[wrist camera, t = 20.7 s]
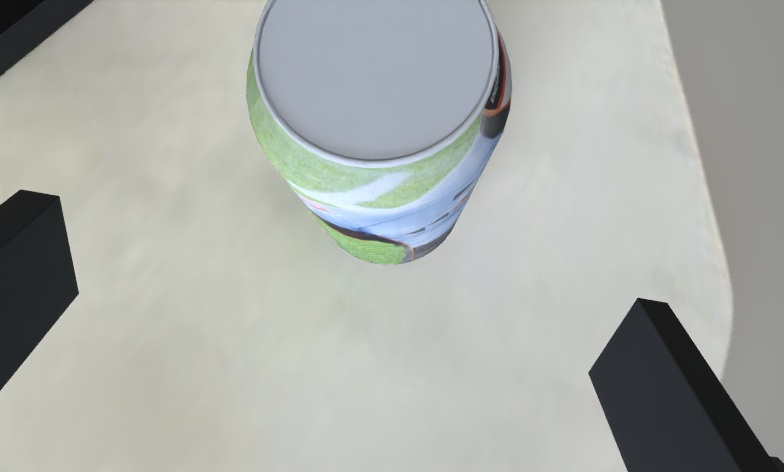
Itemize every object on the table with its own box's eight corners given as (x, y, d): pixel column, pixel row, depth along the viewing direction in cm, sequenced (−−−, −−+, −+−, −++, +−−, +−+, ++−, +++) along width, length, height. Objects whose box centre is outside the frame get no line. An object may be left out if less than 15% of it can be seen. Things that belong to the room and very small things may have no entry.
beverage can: (460, 260, 21) (628, 188, 10) (287, 277, 20) (238, 217, 8) (443, 123, 22) (575, -96, 10) (277, 131, 21) (219, -104, 9)
